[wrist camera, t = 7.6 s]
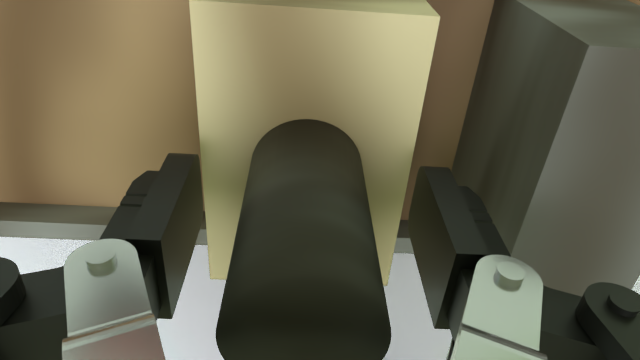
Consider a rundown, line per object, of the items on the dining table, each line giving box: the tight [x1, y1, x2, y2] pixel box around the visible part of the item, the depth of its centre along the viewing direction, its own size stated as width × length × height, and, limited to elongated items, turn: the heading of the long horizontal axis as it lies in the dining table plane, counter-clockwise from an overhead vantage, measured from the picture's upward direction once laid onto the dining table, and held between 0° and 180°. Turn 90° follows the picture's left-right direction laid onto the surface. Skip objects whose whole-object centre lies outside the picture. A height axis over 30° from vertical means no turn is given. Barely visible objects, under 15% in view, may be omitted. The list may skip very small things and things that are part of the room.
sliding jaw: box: [189, 0, 440, 360], centre depth 13 cm, size 6×9×10 cm, turn 176°
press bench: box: [0, 0, 640, 296], centre depth 15 cm, size 28×13×8 cm, turn 86°
